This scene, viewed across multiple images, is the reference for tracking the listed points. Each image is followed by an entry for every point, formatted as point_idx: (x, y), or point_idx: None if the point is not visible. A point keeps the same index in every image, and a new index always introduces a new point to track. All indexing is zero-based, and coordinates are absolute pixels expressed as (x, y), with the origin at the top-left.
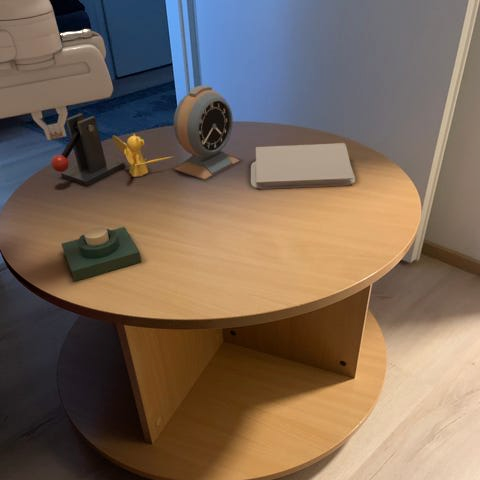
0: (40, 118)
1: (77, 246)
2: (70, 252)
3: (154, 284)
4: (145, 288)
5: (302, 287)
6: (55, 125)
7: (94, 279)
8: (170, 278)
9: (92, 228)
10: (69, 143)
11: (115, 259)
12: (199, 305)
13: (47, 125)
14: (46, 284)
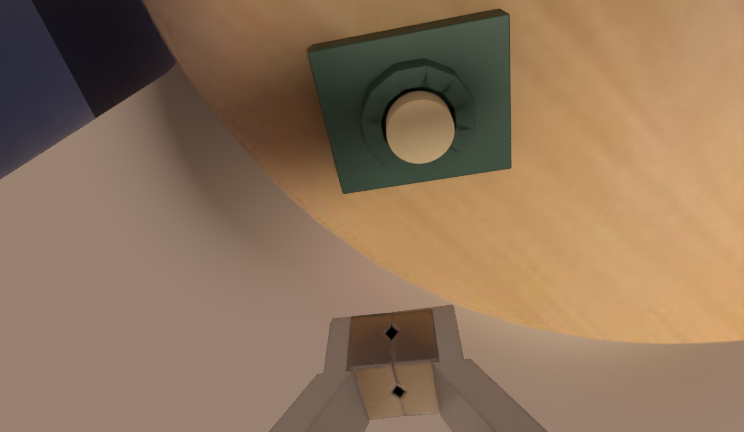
0: (316, 423)
1: (356, 88)
2: (337, 113)
3: (504, 238)
4: (484, 244)
5: (739, 317)
6: (414, 390)
7: None
8: (541, 230)
9: (414, 109)
10: None
11: (447, 176)
12: (557, 308)
13: (357, 374)
14: (280, 170)
